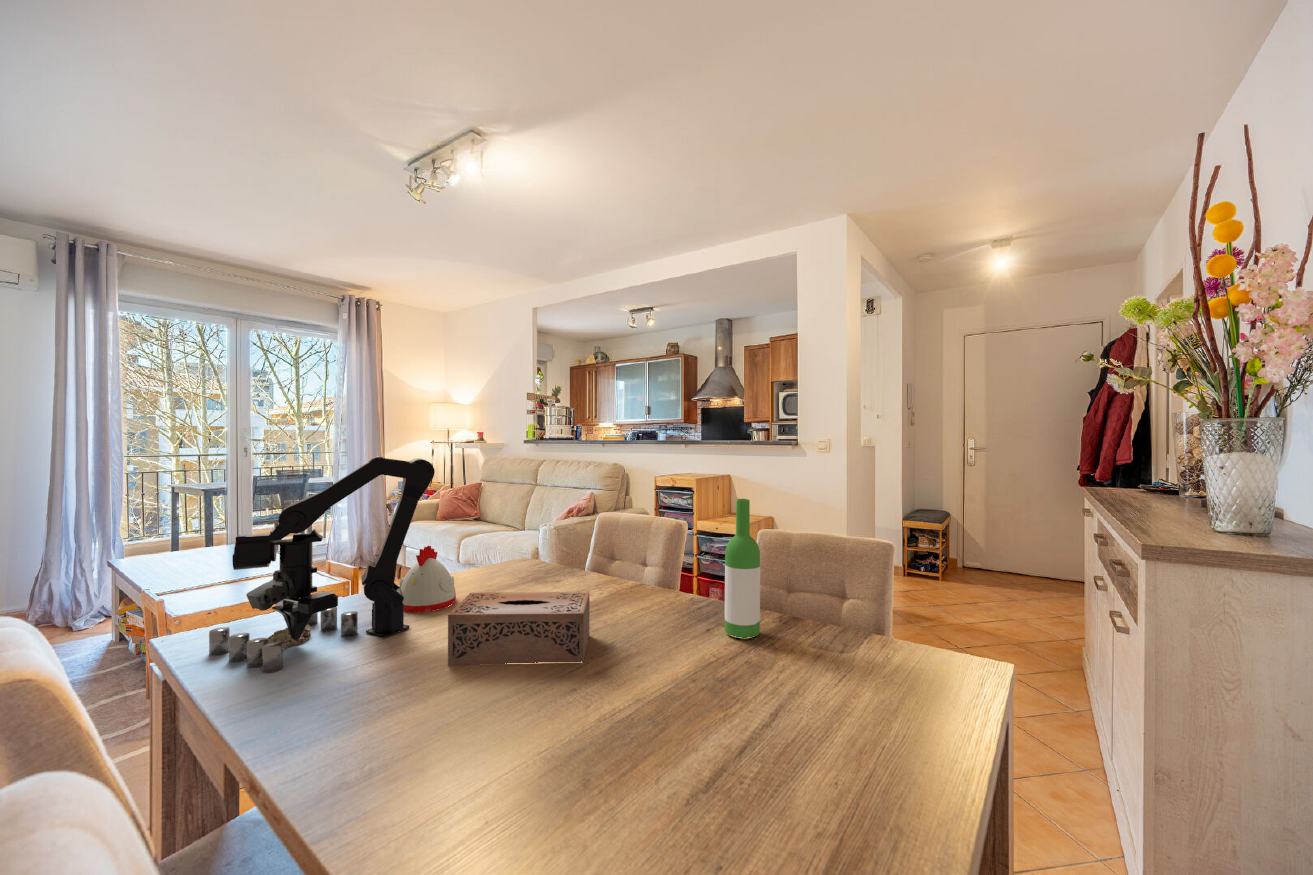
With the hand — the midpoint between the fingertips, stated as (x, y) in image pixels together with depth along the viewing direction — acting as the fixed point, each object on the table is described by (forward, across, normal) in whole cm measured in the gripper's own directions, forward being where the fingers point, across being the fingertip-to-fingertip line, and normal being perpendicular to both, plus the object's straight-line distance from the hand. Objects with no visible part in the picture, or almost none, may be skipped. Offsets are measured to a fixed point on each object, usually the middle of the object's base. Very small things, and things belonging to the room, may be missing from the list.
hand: (295, 639), depth 113 cm
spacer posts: (+1, -1, 0) cm, 2 cm away
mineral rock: (+2, -4, 0) cm, 4 cm away
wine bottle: (+2, +82, +46) cm, 94 cm away
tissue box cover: (+2, +44, +19) cm, 48 cm away
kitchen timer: (+2, +2, +32) cm, 32 cm away
